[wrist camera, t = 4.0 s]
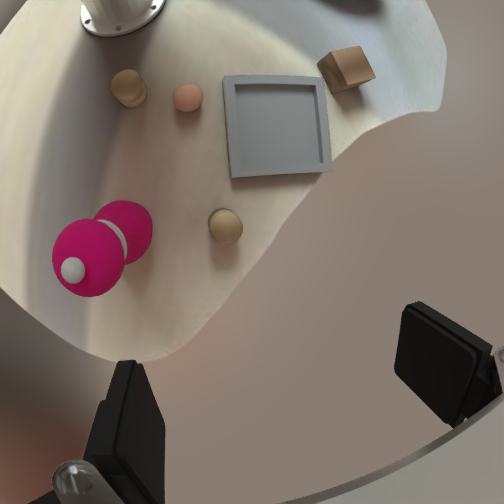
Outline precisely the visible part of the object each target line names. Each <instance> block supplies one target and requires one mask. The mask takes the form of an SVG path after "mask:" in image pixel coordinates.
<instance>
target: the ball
mask: <svg viewBox="0 0 504 504" xmlns="http://www.w3.org/2000/svg"><path fill="white" fill-rule="evenodd" d="M202 100H203V94H202V91H201V89H200V88H199V87H198V86H196V85H194V84H183V85H181V86H179V87H178V88H177V89H176V91H175V92H174V95H173V102H174V105H175V106H176V107H177V108H178V109H179V110H181V111H184V112H190V111H193V110H195V109H197V108H198V107H199V106H200V105H201V103H202Z"/></svg>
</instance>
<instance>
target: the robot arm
mask: <svg viewBox="0 0 504 504" xmlns="http://www.w3.org/2000/svg"><path fill="white" fill-rule="evenodd" d="M81 1H82V3H83V4H82V7H81V11H80V18H81V22H82V24H83V25H84V27H85V28H86V29H87V30H88V31H89V32H90V33H92V34H94V35H97V36H103V37H114V36H119V35H124V34H127V33H130V32H132V31H134V30H137V29H139V28H140V27H142V26H144V25H145V24H147V23H148V22H149V21H151V20H152V19H153V18H154V17H155V16H156V15H157V14H158V13H159V11H160V10H161V8H162V7H163V4H164V2H165V0H81ZM491 350H492V345H491V344H489V343H487V342H486V341H484V340H483V339H481V338H480V337H478V336H476V335H475V334H473V333H472V332H470V331H468V330H467V329H465V328H464V327H462V326H460V325H459V324H457V323H456V322H454V321H452V320H451V319H449V318H447V317H446V316H444V315H442V314H441V313H439V312H437V311H436V310H434V309H432V308H431V307H429V306H427V305H426V304H424V303H422V302H420V301H418V302H415V303H412V304H408V305H407V306H406V307H405V309H404V310H403V312H402V318H401V326H400V333H399V340H398V346H397V353H396V359H395V364H394V370H395V373H396V375H397V376H398V377H399V378H400V379H401V380H402V381H403V382H404V383H405V384H406V385H407V386H408V387H410V389H411V390H412V391H413V392H414V393H415V394H416V395H417V396H418V397H419V398H420V399H421V400H422V401H423V402H424V403H425V404H426V405H427V406H428V407H429V408H430V409H431V410H432V411H433V412H434V413H435V414H436V415H437V416H438V417H439V418H440V419H441V420H442V421H443V422H444V423H446V424H449V425H450V426H451V427H452V428H453V429H452V430H451V431H449V432H448V433H446V434H444V435H443V436H441V437H440V438H438V439H436V440H435V441H433V442H431V443H429V444H428V445H426V446H424V447H422V448H421V449H419V450H417V451H415V452H413V453H411V454H410V455H408V456H406V457H404V458H402V459H400V460H398V461H396V462H394V463H392V464H389V465H387V466H385V467H383V468H381V469H379V470H376V471H374V472H372V473H369V474H367V475H365V476H362V477H360V478H357V479H355V480H352V481H349V482H347V483H344V484H342V485H339V486H336V487H333V488H330V489H327V490H324V491H321V492H318V493H315V494H311V495H308V496H305V497H301V498H297V499H294V500H290V501H286V502H282V503H278V504H504V346H502V347H499V348H498V349H497V350H496V351H495V352H494V355H493V356H491V355H490V353H491ZM465 417H466V418H467V420H466V421H465V422H463V421H464V419H465ZM164 464H165V423H164V420H163V417H162V415H161V412H160V410H159V407H158V405H157V402H156V400H155V397H154V395H153V392H152V389H151V387H150V384H149V381H148V378H147V376H146V373H145V370H144V367H143V365H142V364H137V362H136V360H125V361H118V363H117V365H116V368H115V371H114V374H113V377H112V380H111V383H110V386H109V390H108V393H107V396H106V399H105V400H102V401H101V402H100V404H99V406H98V409H97V412H96V416H95V419H94V422H93V425H92V429H91V432H90V436H89V439H88V443H87V447H86V450H85V454H84V458H83V460H71V461H68V462H65V463H63V464H62V465H60V466H59V467H58V468H57V469H56V470H55V472H54V474H53V476H52V486H53V489H54V490H52V491H50V492H48V493H47V494H45V495H43V496H41V497H39V498H38V499H36V500H34V501H32V502H30V503H28V504H165V491H164V469H165V468H164V466H165V465H164Z"/></svg>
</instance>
